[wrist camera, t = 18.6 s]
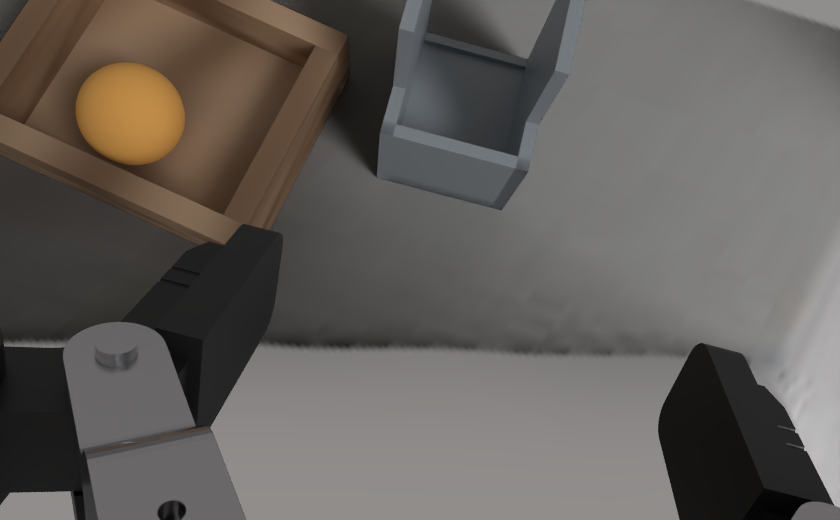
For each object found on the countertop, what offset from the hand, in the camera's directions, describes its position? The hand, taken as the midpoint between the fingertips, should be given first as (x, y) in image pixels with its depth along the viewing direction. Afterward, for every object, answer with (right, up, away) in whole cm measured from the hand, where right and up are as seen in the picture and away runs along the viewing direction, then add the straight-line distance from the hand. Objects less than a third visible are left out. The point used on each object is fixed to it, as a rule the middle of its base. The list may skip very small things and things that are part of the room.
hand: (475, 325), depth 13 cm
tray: (-12, +8, +17) cm, 22 cm away
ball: (-13, +7, +14) cm, 20 cm away
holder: (+1, +8, +18) cm, 20 cm away
